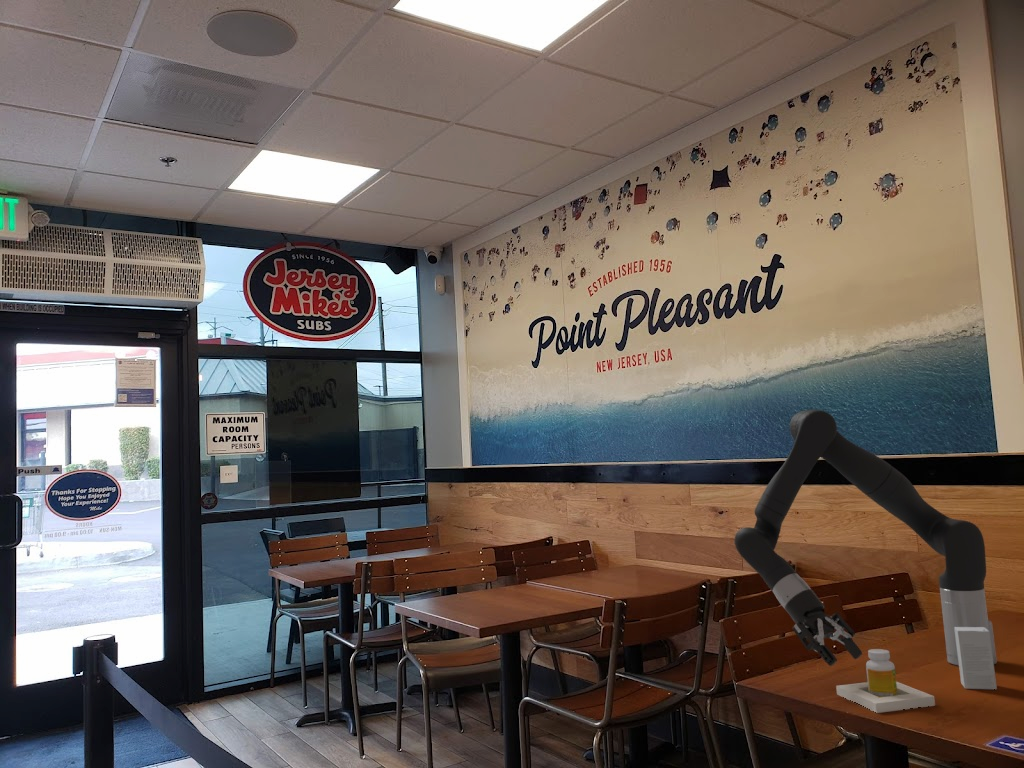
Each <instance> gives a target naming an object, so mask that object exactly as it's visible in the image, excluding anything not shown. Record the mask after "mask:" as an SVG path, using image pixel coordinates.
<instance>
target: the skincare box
mask: <svg viewBox="0 0 1024 768" xmlns="http://www.w3.org/2000/svg"><path fill="white" fill-rule="evenodd" d="M954 630H955V638H956V646H957V654H958V662H959V665H958V668H959V676H960V677H959V678H960V683H961V685H962V686H963V688H964V689H966V690H994V689H995V690H998V687H997V679H996V672H995V664H994V662H993V654H992V647H991V639H990V631H988V630H987V629H986V628H985V627H954ZM995 690H994V691H995Z"/></svg>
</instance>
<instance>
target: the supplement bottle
mask: <svg viewBox="0 0 1024 768" xmlns="http://www.w3.org/2000/svg"><path fill="white" fill-rule="evenodd" d="M867 653H868V654H867V655H868V658H869V659H870V660H867V662H865V663H866V664H865V669H866V671H865V672H866V678H867V679H866V682H868V692H869V693H870V694H873V695H875V696H877V697H879V698H880V697H888V696H896V695H898V694H897V685H896V682H897V676H896V667H895V664H894V663H893V662H892V661H891V660H890V659H891V656H890V655H891V654H890V651H889V650H887V649H881V648H871V649H868V651H867Z"/></svg>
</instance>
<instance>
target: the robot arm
mask: <svg viewBox="0 0 1024 768" xmlns="http://www.w3.org/2000/svg"><path fill="white" fill-rule="evenodd" d="M789 433H790V434H791V437H792V439H793V440H794V444H793V445H792V448H791V450H790V452H789V454H788V455H787V458H786V459H785V461H784V463H783V464H782V465H781V467H780V468H779V470H778V471H777V472H776V473H775V474H774V475H773V477H772V478H771V480H770V481H769V482H768V484H767V486H766V487H765V489H764V490H763V493H762V495H761V497H760V499H759V500H758V502H757V504H756V507H755V509H754V515H755V517H756V521H755V524H754V526H753V527H751V526H749V527H747V526H746V527H743V528H740V529H739V530H738V531H737V532H736V534H735V536H734V546H735V549H736V551H737V552H738V553H739V555H740V556H741V557H742V558H743V560H744V561H745V562H746V563H747V564H748V565H749V566H750V567H752V569H754V570H755V572H757V573H758V574H759V576H760V577H761V578H762V579H763V581H764V583H766V585H767V587H768V588H769V589H770V590H771V592H772V593H773V594H774V596H775V597H776V599H777V601H778V603H779V604H780V605H781V607H783V609H784V610H785V611H786V612H787V614H788V615H789V616H790V618H791V619H792V621H793V622H794V623H795V624H794V625H793V626H792V631H793V632H794V633H795V635H796V637H798V639H799V640H800V641H801V643H802V645H803V646H804V647H805V649H806V650H807V651H809V652H810V651H811V650H813V651H815V652H816V653H818V655H820V657H821V658H822V659H823V660H824V662H825V663H826V664H827V665H828V666H830V667H831V666H834V665H835V664H836V663H837V661H838V659H837V657H836V655H835V654H834V653H833V652H832V651H831V650H830V649H829V647H828V646H827V645H826V644H825V640H824V639H831V640H832V641H837V642H839V643H840V644H842V645H843V647H844V648H845V649H846V650H847V652H848V653H849V655H851V657H853V659H855V660H857V659H859V658H860V657H861V656H862V655H863V652H862V650H861V649H860V648H859V645H857V644H856V642H855V641H854V640H853V637H854V636H855V635H856V632H855V631H854V630H853V629H852V628H851V626H850V625H849V624H848V623H847V622H846V620H844V618H843V617H842V616H841V615H840V614H839V613H838V612H834V613H833V614H832V615H829V614H827V613H826V612H825V604H824V602H822V600H821V599H820V598H819V597H818V595H817V594H816V593H815V592H814V591H813V590H812V588H811V587H810V586H809V584H808V583H807V582H806V581H805V580H804V579H803V578H802V577H801V576H800V575H799V574H798V573H797V571H795V569H794V568H793V566H791V564H790V563H789V562H788V560H786V559H785V558H784V557H782V556H780V555H779V554H778V553H777V552H775V549H776V547H777V543H778V541H779V536H780V533H781V529H782V524H783V523H784V520H785V519H786V517H787V515H788V513H789V510H790V509H791V507H792V505H793V503H794V501H795V499H796V497H797V495H798V494H799V492H800V490H801V488H802V486H803V484H804V482H805V481H806V479H807V478H808V476H809V475H810V473H811V471H812V470H813V468H814V467H815V465H816V463H817V462H818V461H819V459H820V458H821V459H823V460H824V461H826V462H827V463H828V464H829V465H831V466H832V467H833V468H834V469H836V470H837V472H839V473H840V474H841V475H842V476H843V477H844V478H845V479H847V481H849V482H850V483H851V484H852V485H853V486H854V487H856V488H857V489H858V490H859V491H861V493H863V494H864V495H865V496H867V497H868V498H869V499H870V500H872V501H873V502H874V503H876V504H877V505H878V506H879V507H881V508H883V509H884V510H885V511H886V512H889V513H890V514H891V515H892V516H893V517H895V518H897V519H898V520H899V521H901V522H903V524H906V526H908V527H909V528H910V529H912V531H914V533H916V534H917V535H918V536H919V538H921V540H923V541H924V542H925V544H927V545H928V546H929V547H930V548H931V549H932V550H933V551H934V552H935V553H938V554H939V555H941V556H944V557H945V569H944V572H943V573H941V574H940V575H939V576H938V583H939V584H938V586H939V593H940V602H941V611H942V621H943V631H944V637H945V638H944V641H945V649H946V656H947V657H946V659H947V662H948V664H952V665H954V666H959V662H958V654H957V646H956V638H955V630H954V627H985V628H986V629H987V630H988V631H990V639H991V647H992V654H993V662H994V665H995V664H997V662H998V660H997V653H996V645H995V637H994V629H993V622H992V621H991V620H989V618H988V617H989V616H988V609H987V602H986V601H987V600H986V593H985V579H986V576H987V560H986V548H985V547H986V546H985V540H984V536H983V534H982V531H981V530H980V528H979V527H978V526H977V525H976V524H974V523H973V522H971V521H967V520H964V519H963V520H962V519H956V518H955V519H954V518H950V517H949V516H947V515H945V514H943V513H942V512H941V511H939V510H937V509H936V508H934V507H933V506H931V505H930V504H929V503H928V502H926V500H925V499H924V498H923V497H922V496H921V495H920V493H919V492H918V491H917V490H916V487H915V486H914V484H913V483H911V481H910V480H909V479H908V478H907V477H906V476H905V475H904V474H903V473H902V472H900V471H899V470H898V469H896V468H895V467H894V466H892V465H891V464H890V463H888V462H887V461H885V460H884V459H882V458H881V457H880V456H878V455H875V454H874V453H872V452H871V451H868V450H867V449H865V448H862V447H861V446H858V445H856V444H855V443H853V442H852V441H850V440H848V439H847V438H846V437H844V435H843V434H841V433H840V432H839V431H838V427H837V422H836V420H835V418H834V416H832V415H831V414H830V413H829V412H827V411H825V410H820V409H805V410H802V411H799V412H797V413H795V414H794V415H793V416H792V418H791V420H790V422H789ZM845 630H846V631H847V632H846V631H845ZM807 639H808V640H807Z"/></svg>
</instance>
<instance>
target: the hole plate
mask: <svg viewBox="0 0 1024 768" xmlns="http://www.w3.org/2000/svg"><path fill="white" fill-rule="evenodd" d="M896 685H897V694H898V695H896V696H888V697H880V698H879V697H877V696H875V695H873V694H870V693H869V692H868V681H865V682H857V683H848V684H842V685H841V684H839V685H835V688H836V695H837V696H840V697H841V698H843V697H844V699H845V698H846V699H845V700H848V701H850V700H851V701H850V702H852V701H853V702H852V703H854V702H856V703H858V704H860V705H862V706H861V707H863V706H864V707H863V708H865V707H866V708H865V709H867V708H868V709H867V710H869V709H870V711H871V712H873V711H874V712H873V713H875V712H876V714H881V713H887V712H888V713H889V712H897V711H904V710H903V709H905V710H911V709H910V708H913V709H918V707H921V708H926V707H928V706H929V707H934V706H936V701H935V696H934V695H932V694H929V693H927V692H925V691H922V690H919V689H916V688H914V687H911V686H909V685H906V684H904V683H901V682H899V681H896ZM856 703H855V704H856ZM858 704H857V705H858ZM860 705H859V706H860Z"/></svg>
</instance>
